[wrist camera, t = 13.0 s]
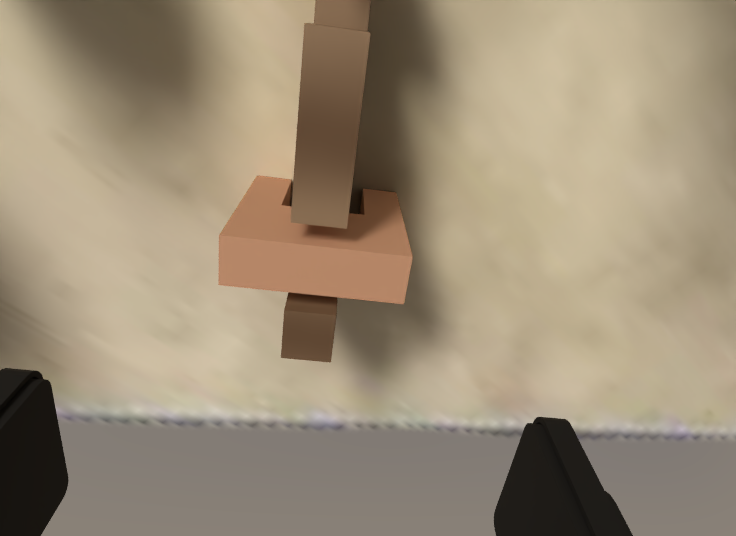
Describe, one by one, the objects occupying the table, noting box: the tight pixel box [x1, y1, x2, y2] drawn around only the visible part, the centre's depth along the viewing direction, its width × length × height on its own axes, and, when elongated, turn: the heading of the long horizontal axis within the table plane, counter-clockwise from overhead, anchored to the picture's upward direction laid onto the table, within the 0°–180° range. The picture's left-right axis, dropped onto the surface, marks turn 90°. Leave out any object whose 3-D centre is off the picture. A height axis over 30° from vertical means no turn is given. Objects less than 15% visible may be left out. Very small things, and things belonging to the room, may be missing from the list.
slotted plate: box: [219, 176, 413, 304], centre depth 23 cm, size 2×7×8 cm, turn 82°
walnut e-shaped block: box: [281, 0, 371, 362], centre depth 20 cm, size 18×2×8 cm, turn 173°
